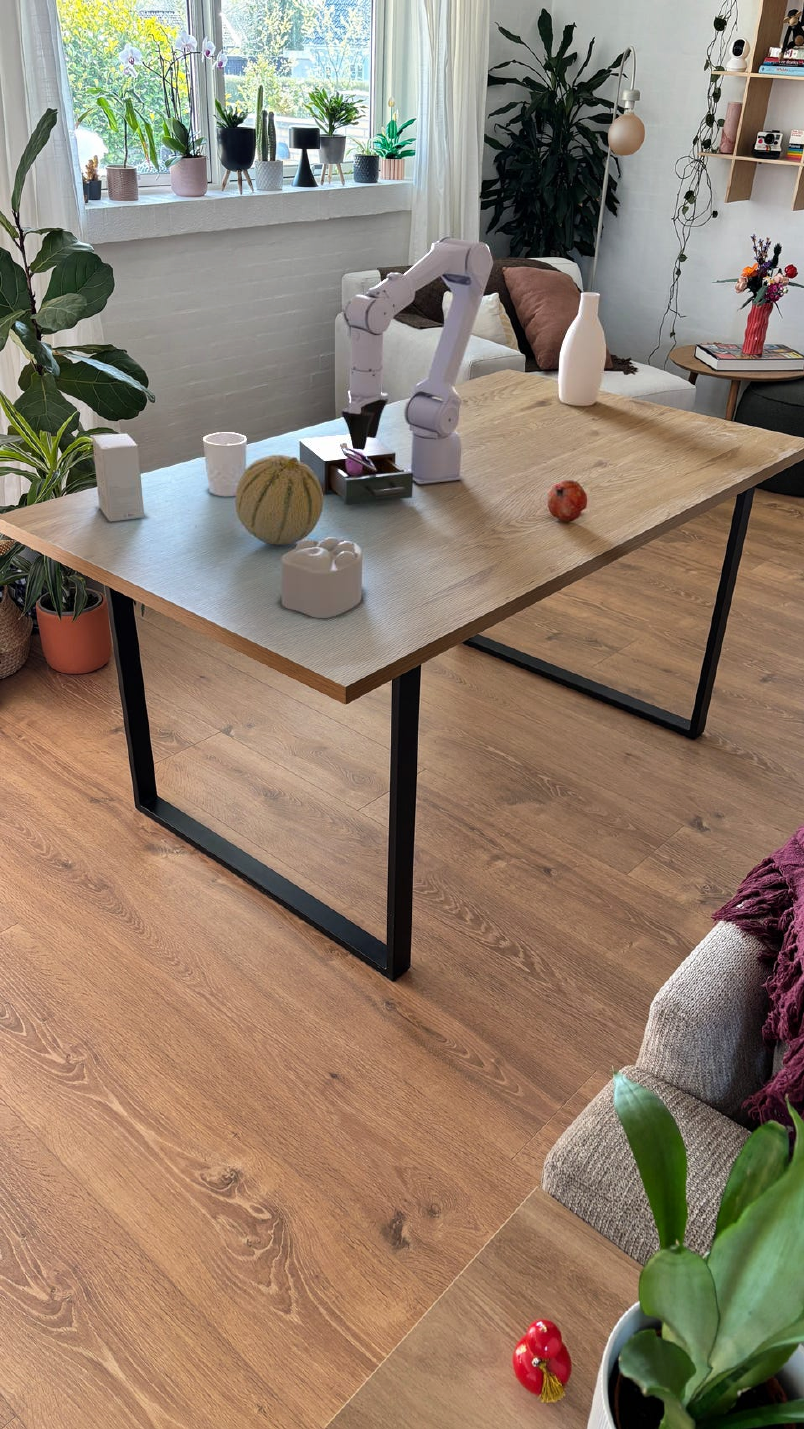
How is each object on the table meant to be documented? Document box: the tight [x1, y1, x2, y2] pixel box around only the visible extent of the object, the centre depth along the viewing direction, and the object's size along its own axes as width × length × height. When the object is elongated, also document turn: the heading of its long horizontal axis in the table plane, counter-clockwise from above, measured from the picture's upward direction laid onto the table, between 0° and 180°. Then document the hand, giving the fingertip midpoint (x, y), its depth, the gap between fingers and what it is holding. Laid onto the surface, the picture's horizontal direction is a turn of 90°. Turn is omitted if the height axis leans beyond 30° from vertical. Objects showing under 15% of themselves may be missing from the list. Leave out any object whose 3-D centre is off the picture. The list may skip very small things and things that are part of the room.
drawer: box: [328, 458, 414, 506], centre depth 203 cm, size 17×13×5 cm
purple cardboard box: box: [339, 442, 377, 477], centre depth 202 cm, size 7×5×9 cm
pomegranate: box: [546, 479, 588, 523], centre depth 198 cm, size 7×7×10 cm
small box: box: [91, 433, 145, 522], centre depth 191 cm, size 8×6×13 cm
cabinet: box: [298, 434, 397, 495], centre depth 212 cm, size 14×15×7 cm
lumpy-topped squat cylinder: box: [280, 536, 363, 619], centre depth 164 cm, size 10×13×9 cm
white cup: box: [202, 432, 247, 497], centre depth 203 cm, size 8×8×10 cm
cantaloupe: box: [234, 454, 324, 546], centre depth 181 cm, size 15×15×15 cm
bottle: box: [558, 291, 607, 407], centre depth 264 cm, size 11×11×25 cm
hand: (364, 442), depth 200 cm, fingers open, 7 cm apart
